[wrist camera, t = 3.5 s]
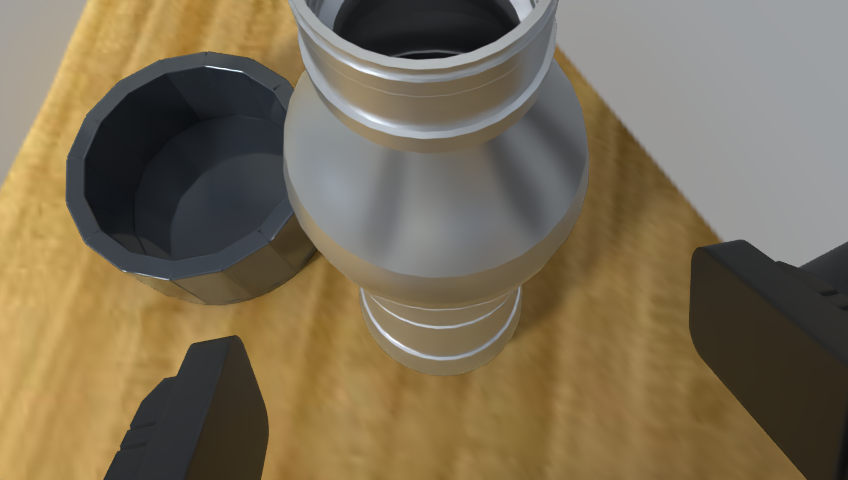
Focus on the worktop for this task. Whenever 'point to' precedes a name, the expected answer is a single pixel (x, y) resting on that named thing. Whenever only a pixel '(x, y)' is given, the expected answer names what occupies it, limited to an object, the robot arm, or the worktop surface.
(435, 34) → the silver bottle
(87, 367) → the worktop surface
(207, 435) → the robot arm
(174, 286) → the socket
